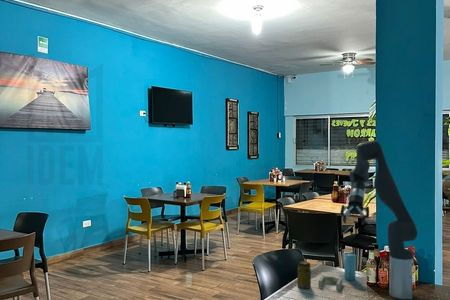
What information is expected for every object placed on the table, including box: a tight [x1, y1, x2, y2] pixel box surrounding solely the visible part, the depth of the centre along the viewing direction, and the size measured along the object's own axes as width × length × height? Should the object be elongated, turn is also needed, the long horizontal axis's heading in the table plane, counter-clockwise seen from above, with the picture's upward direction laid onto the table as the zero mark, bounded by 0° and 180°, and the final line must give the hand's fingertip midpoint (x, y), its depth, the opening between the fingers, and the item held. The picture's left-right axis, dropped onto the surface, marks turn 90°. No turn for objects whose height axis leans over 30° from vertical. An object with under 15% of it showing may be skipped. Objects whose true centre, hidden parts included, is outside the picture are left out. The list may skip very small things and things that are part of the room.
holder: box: [317, 274, 344, 292], centre depth 187 cm, size 10×10×4 cm
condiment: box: [297, 260, 312, 290], centre depth 185 cm, size 7×8×12 cm
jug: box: [343, 253, 357, 281], centre depth 195 cm, size 5×7×12 cm
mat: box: [338, 274, 364, 286], centre depth 196 cm, size 11×11×1 cm
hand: (353, 223), depth 205 cm, fingers open, 8 cm apart
